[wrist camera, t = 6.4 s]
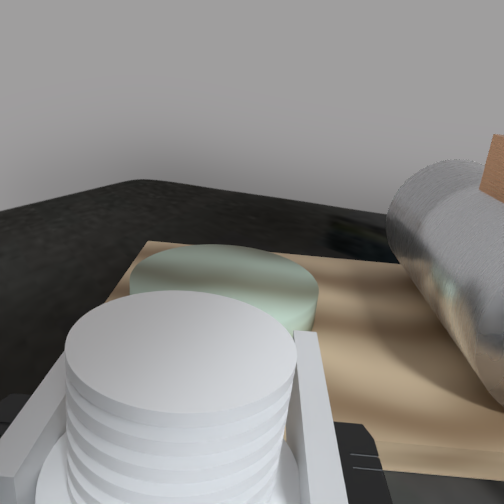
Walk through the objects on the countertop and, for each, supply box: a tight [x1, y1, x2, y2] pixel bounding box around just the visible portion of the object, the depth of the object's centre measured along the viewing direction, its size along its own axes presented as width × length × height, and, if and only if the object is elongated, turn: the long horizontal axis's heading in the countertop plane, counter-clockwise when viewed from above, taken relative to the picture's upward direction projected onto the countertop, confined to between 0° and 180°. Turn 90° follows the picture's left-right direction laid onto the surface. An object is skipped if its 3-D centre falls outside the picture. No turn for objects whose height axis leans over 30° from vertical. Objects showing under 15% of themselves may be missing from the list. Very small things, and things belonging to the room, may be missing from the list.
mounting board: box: [105, 241, 504, 481], centre depth 28 cm, size 20×27×4 cm
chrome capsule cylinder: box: [386, 134, 504, 407], centre depth 27 cm, size 18×9×12 cm, turn 178°
